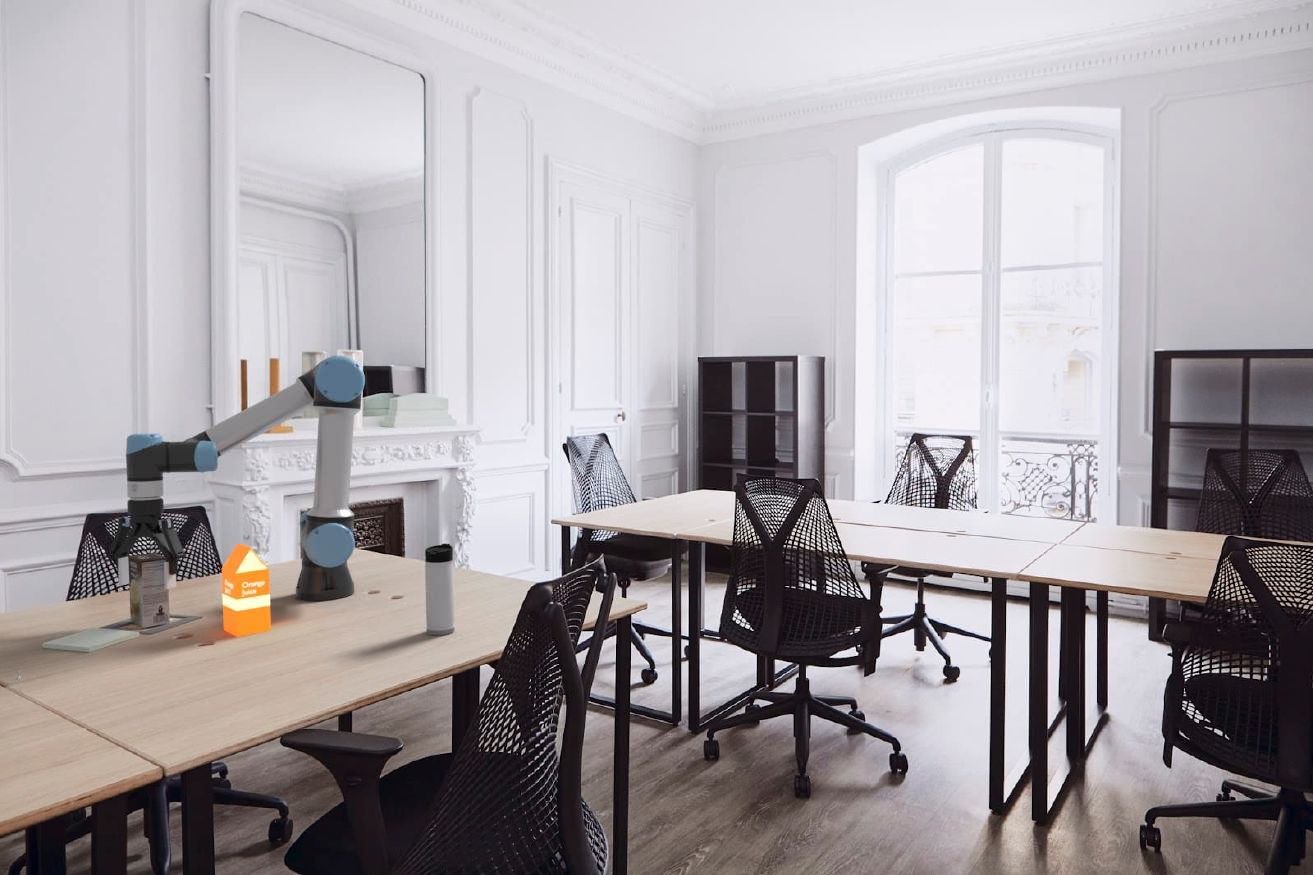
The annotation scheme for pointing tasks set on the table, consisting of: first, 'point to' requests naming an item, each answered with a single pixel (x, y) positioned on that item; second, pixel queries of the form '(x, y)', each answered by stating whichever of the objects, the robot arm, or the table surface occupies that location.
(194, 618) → the tile
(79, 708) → the table surface
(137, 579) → the coffee box
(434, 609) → the travel mug
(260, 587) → the orange juice
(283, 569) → the table surface
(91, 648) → the pad
